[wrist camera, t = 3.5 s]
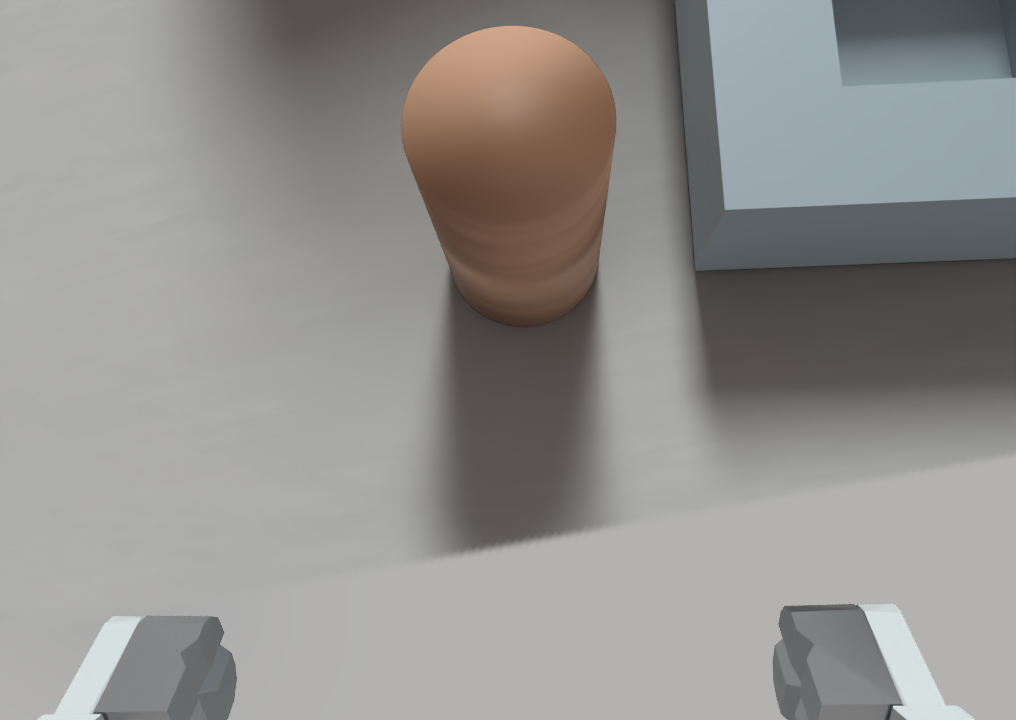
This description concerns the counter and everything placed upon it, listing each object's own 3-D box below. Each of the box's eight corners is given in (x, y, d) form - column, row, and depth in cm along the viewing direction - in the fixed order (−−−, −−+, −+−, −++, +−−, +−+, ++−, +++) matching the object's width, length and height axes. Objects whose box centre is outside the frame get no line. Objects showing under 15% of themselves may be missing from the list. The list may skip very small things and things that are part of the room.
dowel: (424, 234, 28) (363, 93, 20) (548, 161, 29) (542, -10, 20) (499, 354, 27) (470, 261, 18) (627, 277, 28) (658, 149, 19)
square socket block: (1137, 253, 26) (1267, 186, 22) (695, 270, 27) (725, 209, 22) (1062, -117, 30) (1160, -247, 25) (667, -92, 30) (688, -214, 26)
